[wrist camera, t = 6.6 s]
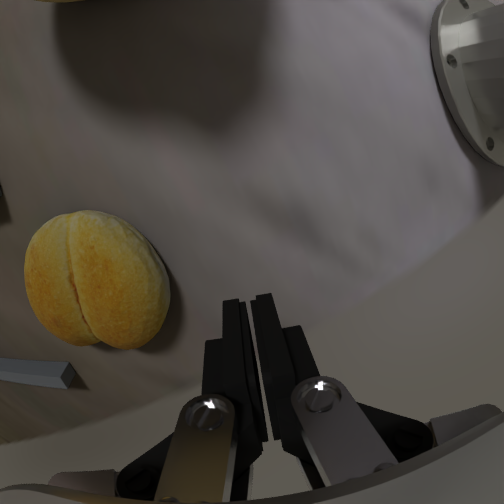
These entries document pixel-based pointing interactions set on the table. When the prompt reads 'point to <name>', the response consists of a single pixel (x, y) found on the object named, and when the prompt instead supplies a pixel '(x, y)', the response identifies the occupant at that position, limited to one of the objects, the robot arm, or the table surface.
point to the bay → (37, 371)
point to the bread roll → (96, 281)
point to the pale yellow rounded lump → (59, 0)
